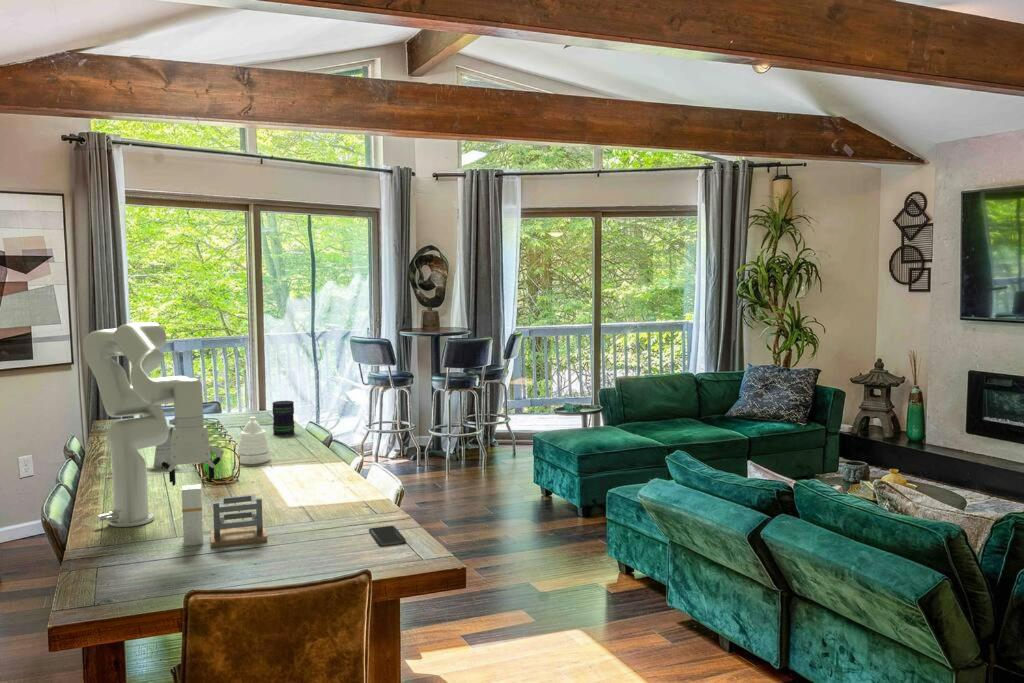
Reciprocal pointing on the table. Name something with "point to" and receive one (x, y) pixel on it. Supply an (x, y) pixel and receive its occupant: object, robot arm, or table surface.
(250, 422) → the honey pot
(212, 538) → the collar rack
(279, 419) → the storage jar
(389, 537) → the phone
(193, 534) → the white block
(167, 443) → the coffee maker
